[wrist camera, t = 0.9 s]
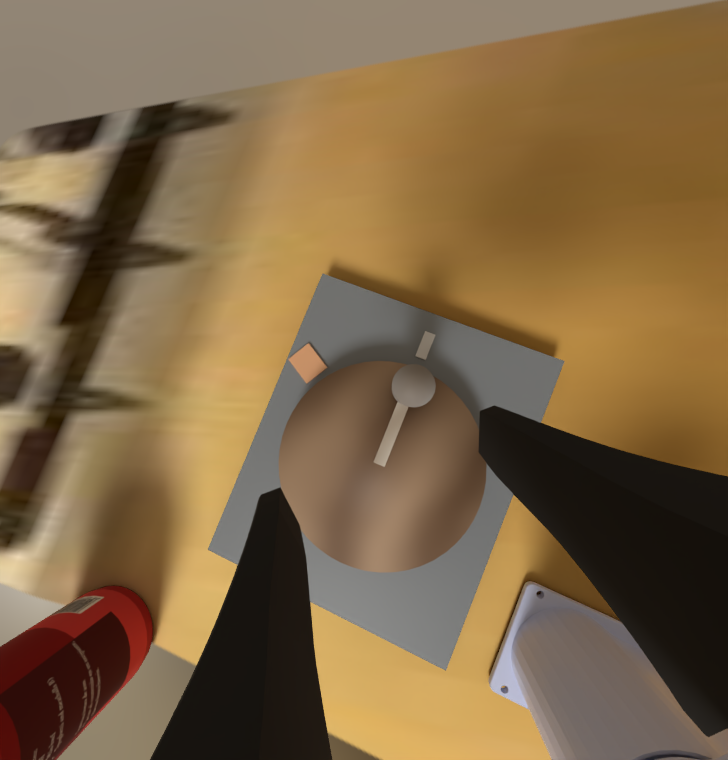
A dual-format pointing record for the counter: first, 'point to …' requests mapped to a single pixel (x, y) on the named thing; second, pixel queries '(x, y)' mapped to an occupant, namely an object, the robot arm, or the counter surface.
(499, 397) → the board
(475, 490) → the dial
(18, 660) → the canned food
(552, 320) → the counter surface
